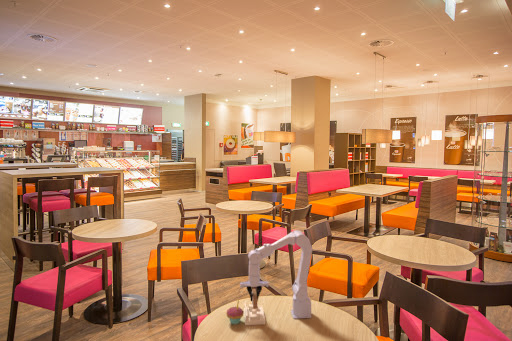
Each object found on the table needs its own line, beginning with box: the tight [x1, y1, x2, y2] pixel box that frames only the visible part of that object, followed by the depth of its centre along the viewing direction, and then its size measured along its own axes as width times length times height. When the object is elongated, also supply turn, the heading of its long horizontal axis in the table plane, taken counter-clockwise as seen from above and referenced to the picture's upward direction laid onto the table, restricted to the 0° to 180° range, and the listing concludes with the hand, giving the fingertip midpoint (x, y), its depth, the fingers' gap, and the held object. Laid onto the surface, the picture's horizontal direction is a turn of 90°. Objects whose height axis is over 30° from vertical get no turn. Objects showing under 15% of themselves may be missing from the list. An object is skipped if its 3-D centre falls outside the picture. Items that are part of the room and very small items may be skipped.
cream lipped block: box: [243, 302, 266, 326], centre depth 161 cm, size 10×13×5 cm
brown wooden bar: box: [251, 288, 258, 309], centre depth 161 cm, size 2×11×5 cm, turn 5°
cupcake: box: [225, 299, 244, 325], centre depth 157 cm, size 9×8×12 cm
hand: (254, 300), depth 161 cm, fingers closed on brown wooden bar, 2 cm apart
